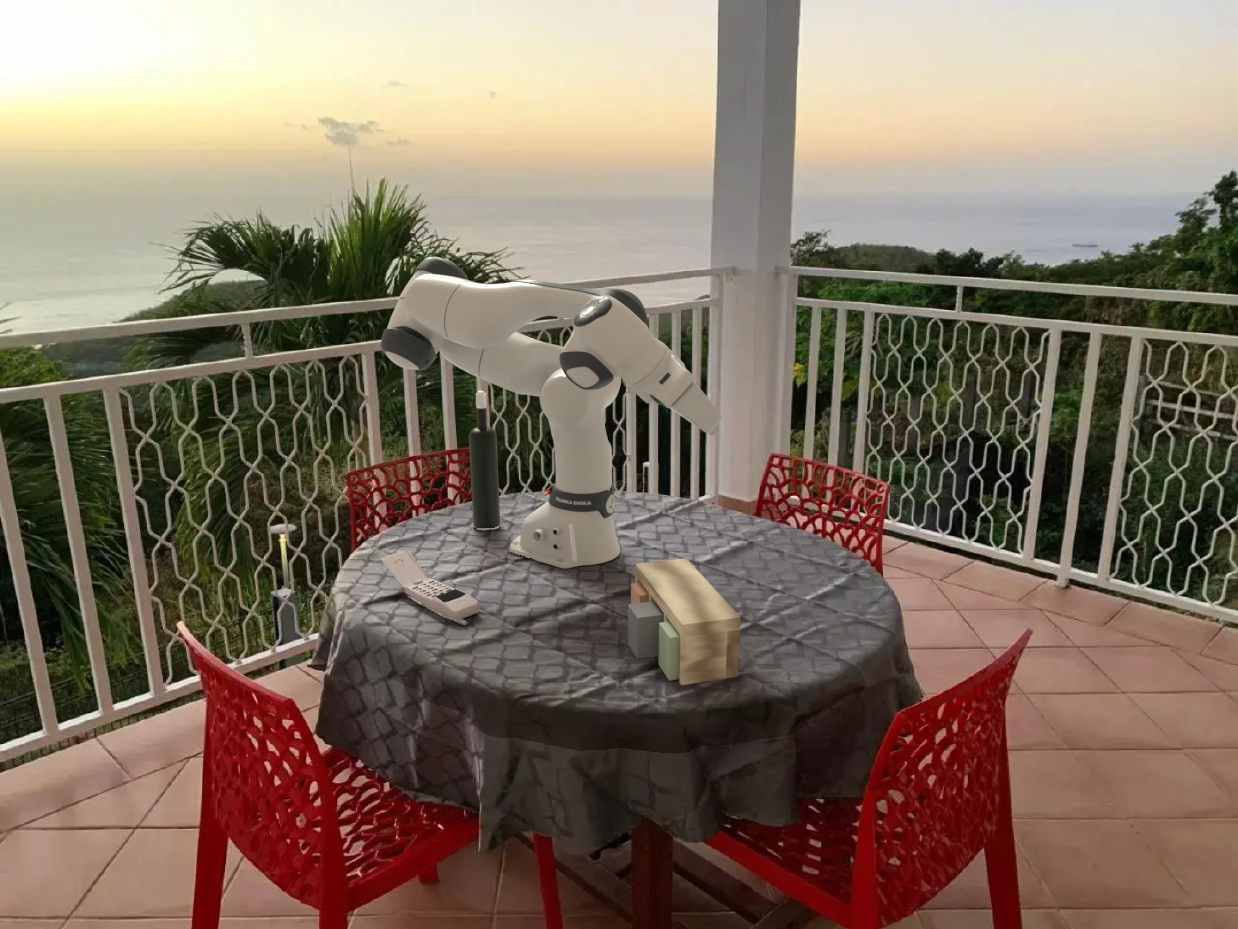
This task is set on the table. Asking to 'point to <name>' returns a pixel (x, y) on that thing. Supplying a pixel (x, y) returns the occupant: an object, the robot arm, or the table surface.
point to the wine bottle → (484, 469)
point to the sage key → (669, 650)
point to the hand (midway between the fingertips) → (712, 430)
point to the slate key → (644, 628)
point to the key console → (694, 619)
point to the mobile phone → (430, 588)
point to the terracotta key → (639, 593)
